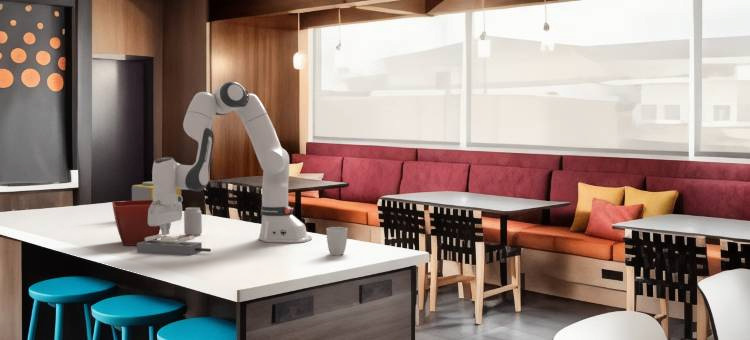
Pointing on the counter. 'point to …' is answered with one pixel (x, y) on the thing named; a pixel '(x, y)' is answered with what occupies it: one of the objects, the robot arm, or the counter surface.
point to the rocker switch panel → (170, 247)
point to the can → (192, 221)
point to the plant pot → (133, 221)
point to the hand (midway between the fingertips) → (165, 234)
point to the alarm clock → (145, 191)
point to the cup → (336, 240)
